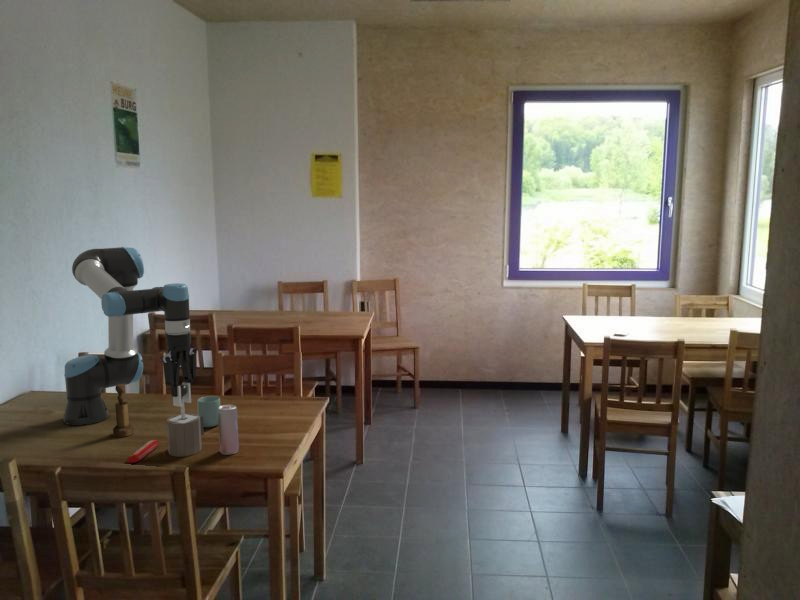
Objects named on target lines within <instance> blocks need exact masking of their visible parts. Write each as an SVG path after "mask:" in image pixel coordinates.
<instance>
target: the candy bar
mask: <svg viewBox="0 0 800 600" xmlns="http://www.w3.org/2000/svg"><path fill="white" fill-rule="evenodd" d="M158 446H159V440H157V439H152V440H148V441H146V442H145V443H143V444H142V445H141V446H140V447H138V448H137V449H135V451H133V452H132V453H131V454H130V455H129V456H127V462H126V464H127V463H128V464H134V463H138V462H140V461H141V460H143V458H145V457H146V456H148V455H149V454H150V453H151V452H152V451H154V450H155V449H157V447H158Z"/></svg>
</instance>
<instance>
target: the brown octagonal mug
mask: <svg viewBox="0 0 800 600" xmlns="http://www.w3.org/2000/svg"><path fill="white" fill-rule="evenodd" d="M165 422H166V424H165V425H166V435H167V436H166V438H167V453H168V454H169V456H173V457H177V458H179V457H188V456H193V455H196V454H197V453H200V452H201V450H202V448H203V446H202V436H203V435H205V433H204V427H203V416H199V415H198V413H197V414H196V413H185V420H181V413H180V414H175V415H172V416H170V417H168V418H167V419H166V420H165Z"/></svg>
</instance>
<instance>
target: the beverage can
mask: <svg viewBox="0 0 800 600" xmlns="http://www.w3.org/2000/svg"><path fill="white" fill-rule="evenodd" d="M238 419H239V418H238V408H237V405H235V404H223V405H220V407H219V408H218V424H217V425H218V440H219V452H220V453H221V454H222V455H225V456H230V455H234V454H236V453H238V451H239V449H240V445H239V444H240V443H239V423H238V421H239V420H238Z"/></svg>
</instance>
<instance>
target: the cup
mask: <svg viewBox="0 0 800 600" xmlns="http://www.w3.org/2000/svg"><path fill="white" fill-rule="evenodd" d="M196 403H197V404H196V405H197V406H196V407H197V415H199V416H203V428H213V427H216V426H218V425H219V424H218V408H219V407H220V406H221V398H220V397H219V396H216V395H207V396H202V397H199V398H197V402H196Z"/></svg>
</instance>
